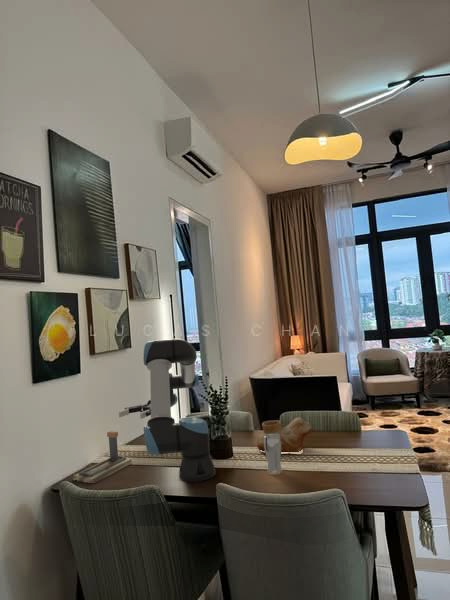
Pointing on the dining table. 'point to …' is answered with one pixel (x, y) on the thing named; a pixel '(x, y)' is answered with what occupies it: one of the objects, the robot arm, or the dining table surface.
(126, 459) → the fader console
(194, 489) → the dining table surface
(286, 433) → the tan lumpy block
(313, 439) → the dining table surface
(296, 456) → the dining table surface
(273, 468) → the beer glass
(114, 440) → the fader lever
